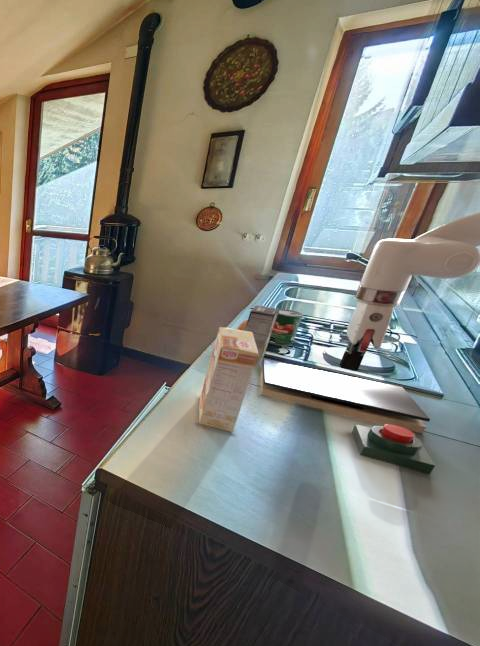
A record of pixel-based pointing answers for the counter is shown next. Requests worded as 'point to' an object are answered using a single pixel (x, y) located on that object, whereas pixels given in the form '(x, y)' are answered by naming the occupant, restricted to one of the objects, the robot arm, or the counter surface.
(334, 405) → the laptop
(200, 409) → the coffeecake box
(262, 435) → the counter surface
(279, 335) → the canned tomato
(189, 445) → the counter surface
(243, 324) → the egg
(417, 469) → the switch box
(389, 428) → the button
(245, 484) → the counter surface
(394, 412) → the laptop screen
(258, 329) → the coffee box
